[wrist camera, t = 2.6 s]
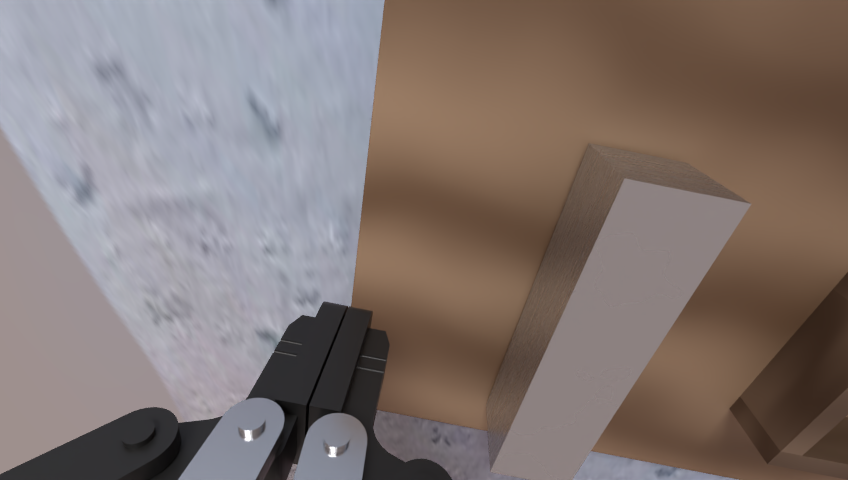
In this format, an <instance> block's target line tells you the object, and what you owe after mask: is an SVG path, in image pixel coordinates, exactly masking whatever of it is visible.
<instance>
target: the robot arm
mask: <svg viewBox="0 0 848 480" xmlns="http://www.w3.org/2000/svg"><path fill="white" fill-rule="evenodd" d="M372 316H373V311H371V310H366V309H360V308H355V307H349V308H348V306H344V305H339V304H334V303H329V302H323V303H322V305H321V307H320V309H319V311H318V313H317V315H316V317H310V316H304V315H302V316H301V317H299V318H298V319H297V320H295V321H294V322H293V323H291V324H290V325H289V326H288V328H287V329H286V331H285V333H284V335H283V336H282V338H281V341H280V342H279V343H278V345H277V347H276V349H275V351H274V353H273V354H272V356H271V357H270V359H269V361H268V363H267V364H266V366H265V368H264V370H263V371H262V373H261V375H260V377H259V378H258V380H257V382H256V384H255V385H254V387H253V389H252V391H251V392H250V394H249V396H248V397H247V399H246V400H244V401H241V402H239V403H237V404H236V405H234V406H233V407H231V408H230V409H229V410H228V411H227V412H226V413H225V414H224V415H223V416H221V417H218V418H214V419H209V420H201V421H192V422H183V423H178V421H177V418H176V417H175V415H174V414H173V413H172V412H170V411H169V410H167V409H163V408H157V407H153V408H144V409H140V410H137V411H134V412H131V413H129V414H127V415H125V416H123V417H120V418H118V419H116V420H114V421H112V422H110V423H108V424H106V425H104V426H101V427H99V428H97V429H95V430H93V431H91V432H89V433H87V434H85V435H82V436H80V437H78V438H76V439H74V440H72V441H70V442H68V443H65V444H63V445H61V446H59V447H57V448H55V449H53V450H51V451H49V452H46V453H45V454H42V455H40V456H38V457H36V458H34V459H32V460H30V461H27V462H25V463H23V464H21V465H19V466H17V467H15V468H13V469H11V470H9V471H6V472H4V473H2V474H0V480H287V477H288V475H289V472H290V469H291V467H292V464H298V465H297V468H296V472H295V475H294V479H293V480H452V479H451V477H450V476H449V474H448V473H447V472H446V471H445V470H444V469H443V468H442V467H441V466H440V465H438V464H437V463H435V462H433V461H430V460H427V459H414V460H411V461H408V462H406V463H405V462H403V461H402V460H400V459H398V458H397V457H395V456H393V455H391V454H390V453H388V452H387V451H386V450H385V449H384V448H382V446H381V445H380V444H379V442H378V441H377V439H376V437H375V434H374V430H373V425H374V421H375V416H376V412H377V407H378V402H379V398H380V393H381V389H382V384H383V380H384V374H385V369H386V363H387V358H388V352H389V347H390V344H389V340H388V337H387V334H386V331H383V330H377V329H372V328H371V323H372Z"/></svg>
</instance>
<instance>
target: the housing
mask: <svg viewBox="0 0 848 480" xmlns="http://www.w3.org/2000/svg"><path fill="white" fill-rule="evenodd" d="M588 143H591V144H596V145H601V146H606V147H611V148H616V149H621V150H626V151H631V152H636V153H641V154H646V155H651V156H656V157H661V158H666V159H671V160H676V161H681V162H685V163H688V164H690V165H691V166H693V167H694V168H696V169H698V170H699V171H701V172H702V173H704V174H705V175H707V176H709V177H710V178H712V179H713V180H715V181H716V182H718V183H720V184H721V185H723V186H724V187H726V188H727V189H729V190H731V191H732V192H734V193H735V194H737V195H738V196H740V197H742V198H743V199H745V200H746V201H748V202H749V203H751V206H750V207H749V209H748V210H747V212H746V213H745V215H744V216H743V218H742V219H741V221H740V222H739V224H738V226H737V227H736V229H735V230H734V232H733V233H732V235H731V236H730V238H729V239H728V241H727V242H726V244H725V245H724V247H723V249H722V250H721V252H720V253H719V255H718V256H717V258H716V259H715V261H714V262H713V264H712V265H711V267H710V269H709V270H708V272H707V273H706V275H705V276H704V278H703V279H702V281H701V282H700V284H699V285H698V287H697V288H696V290H695V292H694V293H693V295H692V296H691V298H690V299H689V301H688V302H687V304H686V305H685V307H684V308H683V310H682V312H681V313H680V315H679V316H678V318H677V319H676V321H675V322H674V324H673V325H672V327H671V328H670V330H669V331H668V333H667V335H666V336H665V338H664V339H663V341H662V342H661V344H660V345H659V347H658V348H657V350H656V351H655V353H654V355H653V356H652V358H651V359H650V361H649V362H648V364H647V365H646V367H645V368H644V370H643V371H642V373H641V374H640V376H639V378H638V379H637V381H636V382H635V384H634V385H633V387H632V388H631V390H630V391H629V393H628V394H627V396H626V398H625V399H624V401H623V402H622V404H621V405H620V407H619V408H618V410H617V411H616V413H615V414H614V416H613V417H612V419H611V421H610V422H609V424H608V425H607V427H606V428H605V430H604V431H603V433H602V434H601V436H600V437H599V439H598V441H597V442H596V444H595V445H594V447H593V448H592V450H591V451H594V452H599V453H605V454H610V455H615V456H620V457H625V458H630V459H636V460H641V461H646V462H651V463H656V464H662V465H667V466H672V467H677V468H682V469H688V470H693V471H698V472H703V473H708V474H713V475H719V476H724V477H729V478H734V479H739V480H848V0H385V2H384V11H383V21H382V30H381V39H380V48H379V57H378V66H377V76H376V85H375V94H374V103H373V112H372V121H371V130H370V140H369V149H368V158H367V167H366V176H365V185H364V195H363V204H362V213H361V222H360V231H359V240H358V249H357V259H356V268H355V277H354V286H353V295H352V304H351V307H355V308H360V309H366V310H371V311H373V316H372V323H371V328H372V329H377V330H383V331H386V334H387V337H388V340H389V344H390V347H389V352H388V358H387V363H386V369H385V374H384V380H383V384H382V389H381V393H380V398H379V402H378V407H377V410H381V411H387V412H392V413H397V414H402V415H407V416H413V417H418V418H423V419H428V420H433V421H438V422H444V423H449V424H454V425H459V426H464V427H470V428H475V429H480V430H485V431H488V428H487V411H486V404H487V401H488V399H489V396H490V394H491V391H492V389H493V386H494V384H495V381H496V378H497V376H498V373H499V371H500V368H501V366H502V363H503V361H504V358H505V355H506V353H507V350H508V348H509V345H510V343H511V340H512V337H513V335H514V332H515V330H516V327H517V325H518V322H519V320H520V317H521V314H522V312H523V309H524V307H525V304H526V302H527V299H528V297H529V294H530V291H531V289H532V286H533V284H534V281H535V279H536V276H537V274H538V271H539V268H540V266H541V263H542V261H543V258H544V256H545V253H546V250H547V248H548V245H549V243H550V240H551V238H552V235H553V233H554V230H555V227H556V225H557V222H558V220H559V217H560V215H561V212H562V210H563V207H564V204H565V202H566V199H567V197H568V194H569V192H570V189H571V187H572V184H573V181H574V179H575V176H576V174H577V171H578V169H579V166H580V164H581V161H582V158H583V156H584V153H585V151H586V148H587V146H588Z"/></svg>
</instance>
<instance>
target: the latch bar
mask: <svg viewBox="0 0 848 480" xmlns="http://www.w3.org/2000/svg"><path fill="white" fill-rule="evenodd" d="M750 206H751V203H749V202H748V201H746V200H745V199H743V198H742V197H740V196H738V195H737V194H735V193H734V192H732V191H731V190H729V189H727V188H726V187H724V186H723V185H721V184H720V183H718V182H716V181H715V180H713V179H712V178H710V177H709V176H707V175H705V174H704V173H702V172H701V171H699V170H698V169H696V168H694V167H693V166H691V165H690V164H688V163H685V162H681V161H676V160H671V159H666V158H661V157H656V156H651V155H646V154H641V153H636V152H631V151H626V150H621V149H616V148H611V147H606V146H601V145H596V144H591V143H588V146H587V148H586V151H585V153H584V156H583V158H582V161H581V164H580V166H579V169H578V171H577V174H576V176H575V179H574V181H573V184H572V187H571V189H570V192H569V194H568V197H567V199H566V202H565V204H564V207H563V210H562V212H561V215H560V217H559V220H558V222H557V225H556V227H555V230H554V233H553V235H552V238H551V240H550V243H549V245H548V248H547V250H546V253H545V256H544V258H543V261H542V263H541V266H540V268H539V271H538V274H537V276H536V279H535V281H534V284H533V286H532V289H531V291H530V294H529V297H528V299H527V302H526V304H525V307H524V309H523V312H522V314H521V317H520V320H519V322H518V325H517V327H516V330H515V332H514V335H513V337H512V340H511V343H510V345H509V348H508V350H507V353H506V355H505V358H504V361H503V363H502V366H501V368H500V371H499V373H498V376H497V378H496V381H495V384H494V386H493V389H492V391H491V394H490V396H489V399H488V401H487V404H486V411H487V428H488V444H489V461H490V472H492V473H498V474H503V475H508V476H513V477H518V478H524V479H529V480H572V479H573V477H574V476H575V474H576V473H577V471H578V470H579V468H580V467H581V465H582V464H583V462H584V461H585V459H586V457H587V456H588V454H589V453H590V451H591V450H592V448H593V447H594V445H595V444H596V442H597V441H598V439H599V437H600V436H601V434H602V433H603V431H604V430H605V428H606V427H607V425H608V424H609V422H610V421H611V419H612V417H613V416H614V414H615V413H616V411H617V410H618V408H619V407H620V405H621V404H622V402H623V401H624V399H625V398H626V396H627V394H628V393H629V391H630V390H631V388H632V387H633V385H634V384H635V382H636V381H637V379H638V378H639V376H640V374H641V373H642V371H643V370H644V368H645V367H646V365H647V364H648V362H649V361H650V359H651V358H652V356H653V355H654V353H655V351H656V350H657V348H658V347H659V345H660V344H661V342H662V341H663V339H664V338H665V336H666V335H667V333H668V331H669V330H670V328H671V327H672V325H673V324H674V322H675V321H676V319H677V318H678V316H679V315H680V313H681V312H682V310H683V308H684V307H685V305H686V304H687V302H688V301H689V299H690V298H691V296H692V295H693V293H694V292H695V290H696V288H697V287H698V285H699V284H700V282H701V281H702V279H703V278H704V276H705V275H706V273H707V272H708V270H709V269H710V267H711V265H712V264H713V262H714V261H715V259H716V258H717V256H718V255H719V253H720V252H721V250H722V249H723V247H724V245H725V244H726V242H727V241H728V239H729V238H730V236H731V235H732V233H733V232H734V230H735V229H736V227H737V226H738V224H739V222H740V221H741V219H742V218H743V216H744V215H745V213H746V212H747V210H748V209H749V207H750Z"/></svg>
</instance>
